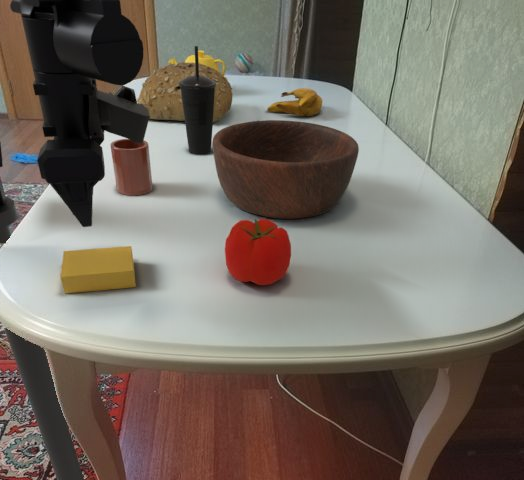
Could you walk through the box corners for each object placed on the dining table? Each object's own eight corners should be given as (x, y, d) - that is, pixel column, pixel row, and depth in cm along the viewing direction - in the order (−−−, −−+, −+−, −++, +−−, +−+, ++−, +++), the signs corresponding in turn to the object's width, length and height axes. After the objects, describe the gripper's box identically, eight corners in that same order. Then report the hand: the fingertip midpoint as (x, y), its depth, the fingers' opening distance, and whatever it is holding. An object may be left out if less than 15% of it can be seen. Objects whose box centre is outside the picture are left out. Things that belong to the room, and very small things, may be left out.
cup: (117, 196, 90) (110, 150, 85) (116, 183, 95) (110, 139, 90) (153, 194, 91) (149, 149, 86) (151, 181, 96) (146, 137, 91)
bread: (235, 106, 143) (235, 58, 136) (229, 127, 126) (228, 73, 119) (149, 102, 143) (145, 53, 136) (132, 122, 126) (125, 68, 119)
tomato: (220, 263, 73) (219, 214, 68) (280, 259, 74) (283, 210, 70) (232, 299, 66) (232, 246, 61) (298, 292, 67) (302, 241, 63)
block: (64, 293, 65) (60, 277, 63) (67, 267, 70) (63, 250, 69) (135, 287, 67) (133, 270, 65) (133, 261, 72) (131, 245, 71)
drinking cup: (223, 149, 113) (222, 46, 100) (206, 159, 107) (203, 51, 95) (194, 143, 115) (189, 41, 103) (175, 152, 110) (168, 46, 97)
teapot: (208, 85, 162) (207, 45, 155) (232, 94, 154) (232, 52, 147) (168, 90, 155) (165, 48, 148) (191, 99, 147) (189, 56, 140)
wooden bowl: (329, 172, 104) (335, 119, 98) (369, 224, 85) (380, 162, 78) (207, 174, 100) (206, 119, 94) (221, 230, 81) (220, 166, 75)
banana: (316, 103, 149) (318, 82, 145) (326, 121, 134) (329, 98, 131) (264, 102, 148) (265, 80, 144) (269, 120, 133) (270, 96, 130)
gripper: (145, 88, 48) (160, 239, 57) (136, 53, 62) (148, 179, 71) (19, 89, 45) (56, 247, 55) (38, 52, 59) (66, 183, 69)
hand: (88, 210), depth 63 cm, fingers open, 9 cm apart
